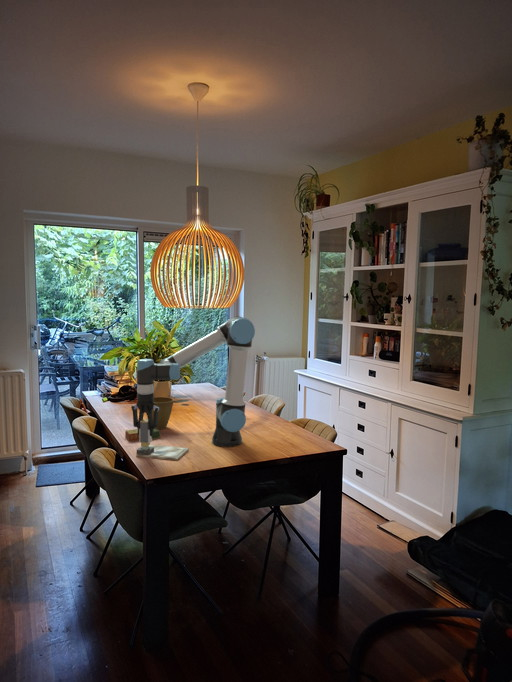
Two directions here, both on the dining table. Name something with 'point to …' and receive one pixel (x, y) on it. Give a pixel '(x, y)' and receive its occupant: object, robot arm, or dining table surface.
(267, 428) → the dining table surface
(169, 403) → the plant pot
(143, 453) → the white tray
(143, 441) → the grey rectangular bar
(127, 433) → the carton
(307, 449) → the dining table surface
